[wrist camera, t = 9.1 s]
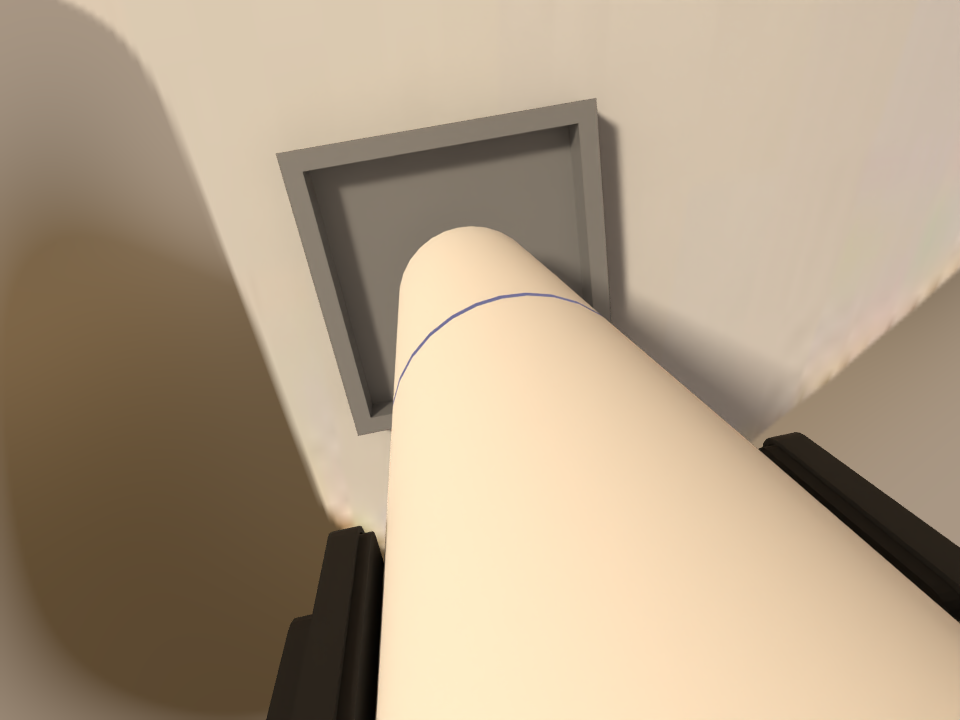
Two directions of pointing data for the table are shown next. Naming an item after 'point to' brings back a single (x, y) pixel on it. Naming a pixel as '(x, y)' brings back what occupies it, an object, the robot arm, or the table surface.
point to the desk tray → (441, 221)
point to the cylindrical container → (612, 532)
